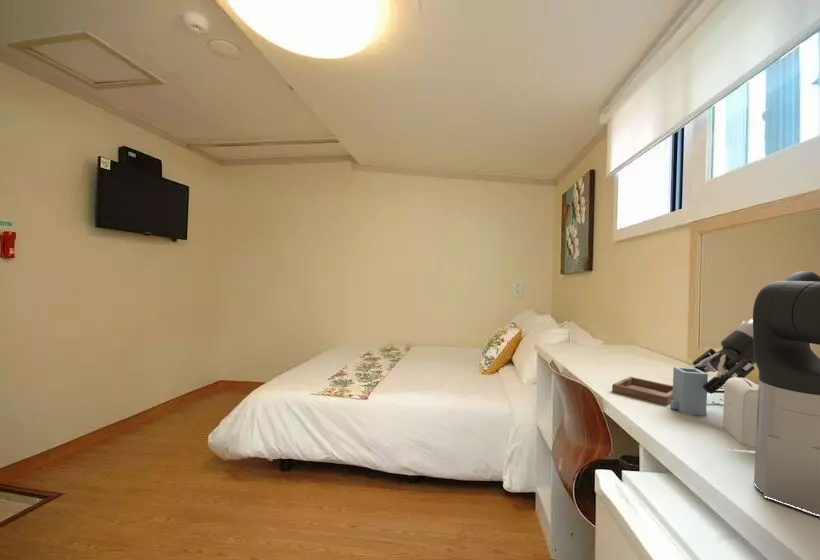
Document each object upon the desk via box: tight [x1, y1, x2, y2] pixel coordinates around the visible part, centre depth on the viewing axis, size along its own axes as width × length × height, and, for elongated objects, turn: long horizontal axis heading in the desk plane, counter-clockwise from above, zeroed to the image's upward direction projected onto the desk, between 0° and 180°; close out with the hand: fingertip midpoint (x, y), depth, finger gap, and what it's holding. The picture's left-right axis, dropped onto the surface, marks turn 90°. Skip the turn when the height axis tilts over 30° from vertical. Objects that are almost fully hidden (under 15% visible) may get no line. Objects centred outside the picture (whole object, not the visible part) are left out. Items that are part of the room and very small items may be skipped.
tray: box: [612, 376, 673, 407], centre depth 102 cm, size 13×13×2 cm
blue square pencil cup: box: [669, 366, 709, 415], centre depth 90 cm, size 5×6×10 cm
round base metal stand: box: [670, 407, 708, 417], centre depth 90 cm, size 7×7×6 cm
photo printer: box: [722, 376, 759, 448], centre depth 76 cm, size 10×4×12 cm, turn 157°
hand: (696, 385), depth 89 cm, fingers open, 8 cm apart
